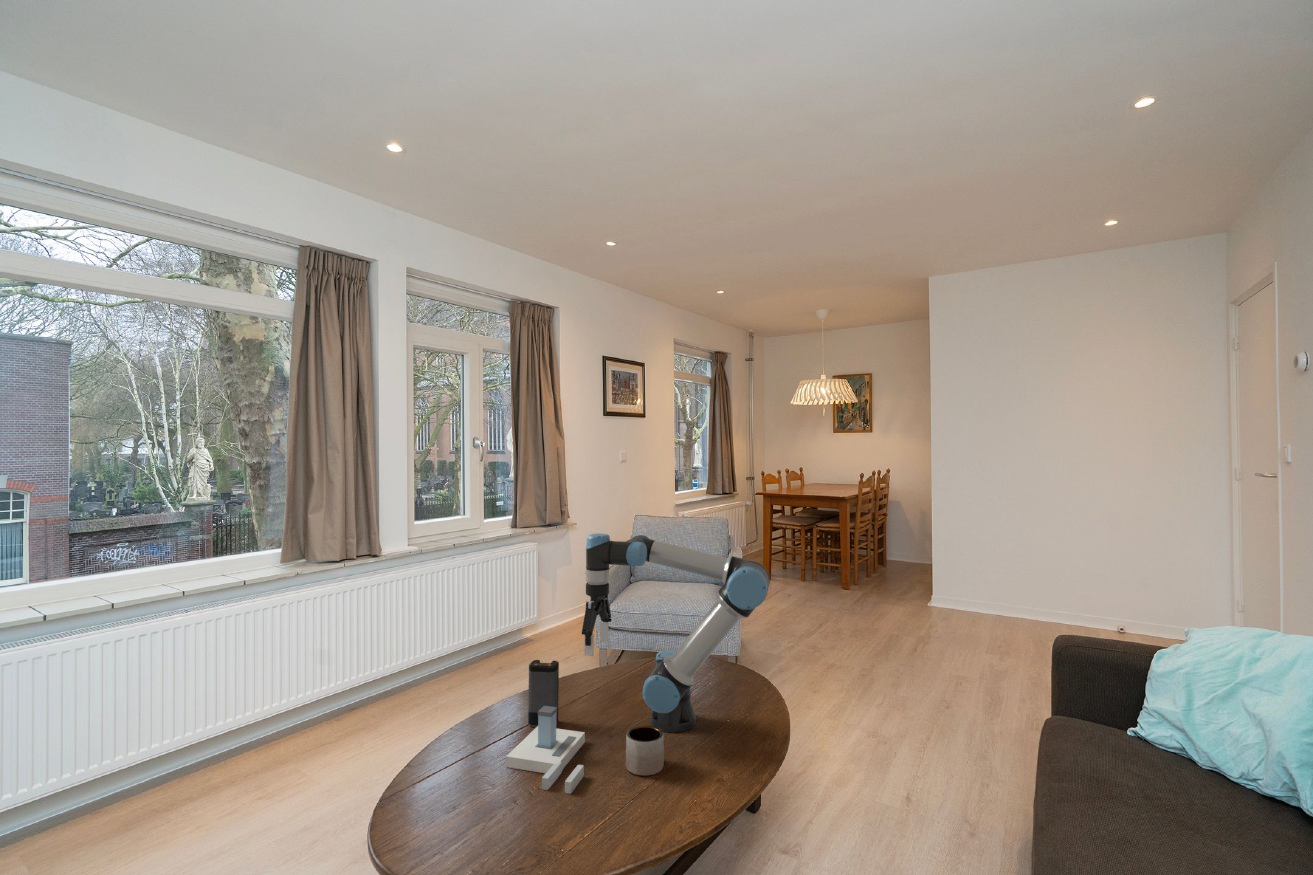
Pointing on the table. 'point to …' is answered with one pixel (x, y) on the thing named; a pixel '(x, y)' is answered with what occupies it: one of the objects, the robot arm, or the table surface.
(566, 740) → the port plate
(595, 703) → the table surface
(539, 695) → the electronic device
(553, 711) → the plug
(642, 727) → the planter
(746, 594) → the robot arm
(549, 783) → the cradle
